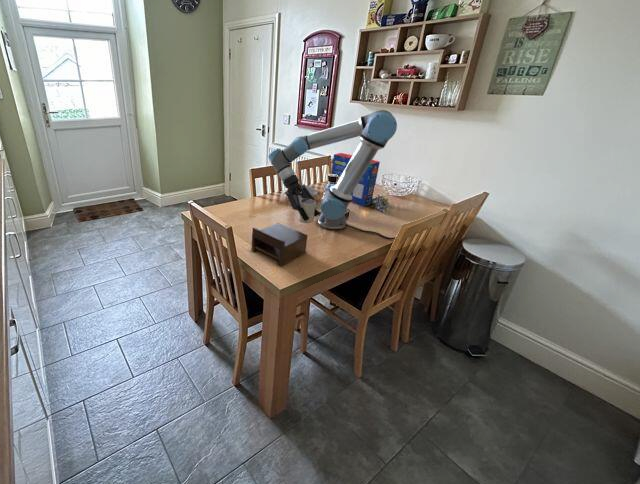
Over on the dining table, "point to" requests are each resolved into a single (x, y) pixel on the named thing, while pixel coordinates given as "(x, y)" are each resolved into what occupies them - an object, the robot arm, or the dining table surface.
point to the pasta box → (367, 182)
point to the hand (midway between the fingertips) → (312, 217)
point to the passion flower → (380, 203)
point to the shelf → (279, 242)
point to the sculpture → (310, 189)
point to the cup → (307, 210)
